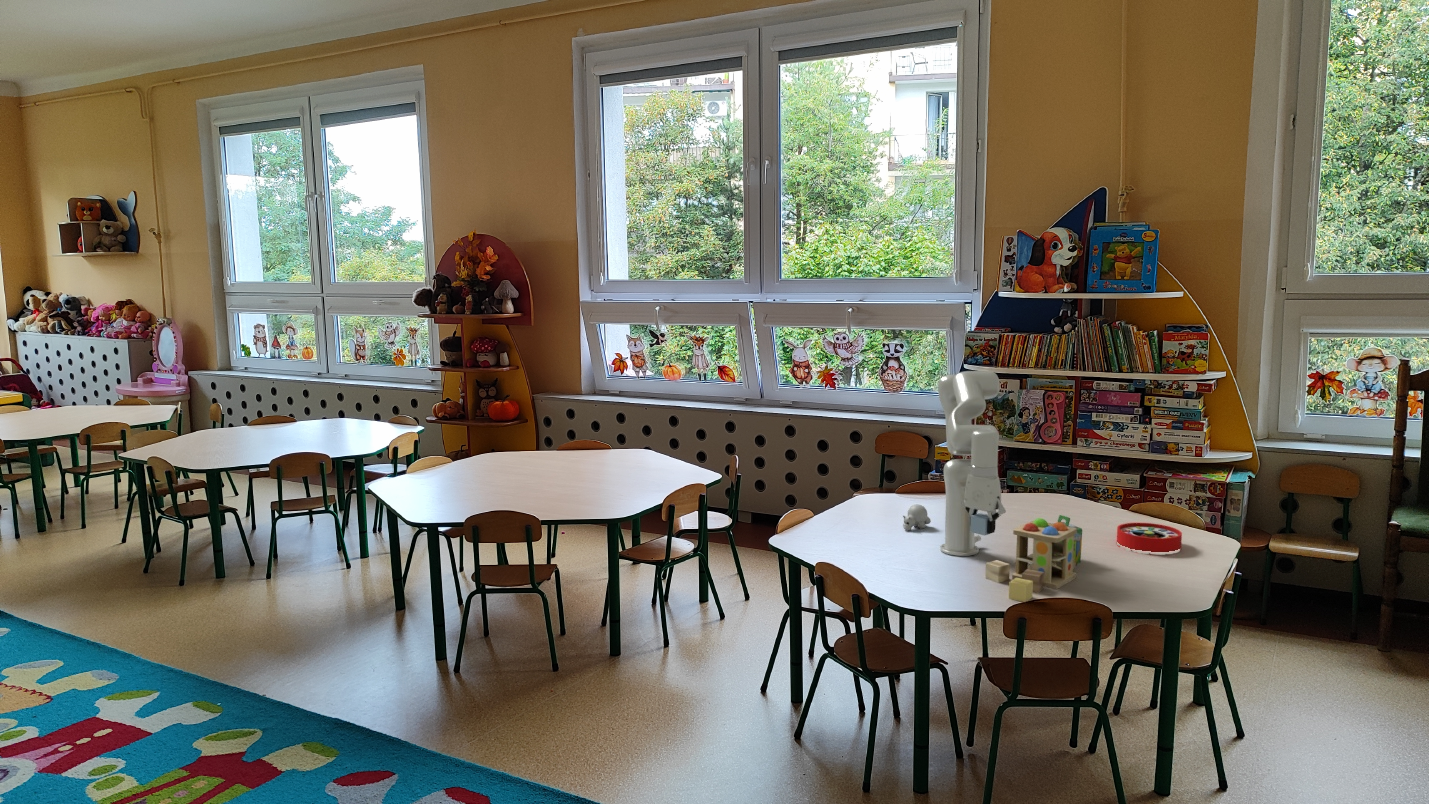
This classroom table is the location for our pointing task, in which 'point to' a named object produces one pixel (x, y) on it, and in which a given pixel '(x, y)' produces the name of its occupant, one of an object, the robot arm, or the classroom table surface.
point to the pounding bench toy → (1046, 551)
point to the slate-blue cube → (979, 523)
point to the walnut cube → (1034, 579)
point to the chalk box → (1076, 539)
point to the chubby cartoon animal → (916, 517)
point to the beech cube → (997, 571)
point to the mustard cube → (1020, 589)
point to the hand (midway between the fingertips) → (982, 530)
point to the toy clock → (1149, 537)
